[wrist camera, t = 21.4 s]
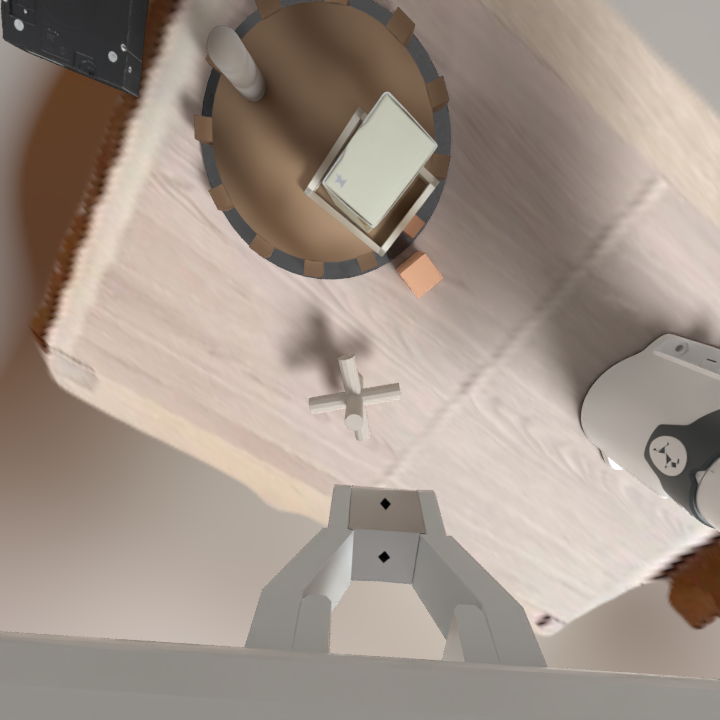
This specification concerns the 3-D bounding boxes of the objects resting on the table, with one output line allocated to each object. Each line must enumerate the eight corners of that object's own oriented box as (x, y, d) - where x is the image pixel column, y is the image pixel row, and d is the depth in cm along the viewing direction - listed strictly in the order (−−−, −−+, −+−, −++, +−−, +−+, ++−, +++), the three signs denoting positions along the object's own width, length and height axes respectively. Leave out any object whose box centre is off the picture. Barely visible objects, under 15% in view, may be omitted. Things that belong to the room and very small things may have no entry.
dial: (292, -85, 26) (264, -213, 19) (497, 127, 31) (540, 93, 24) (163, 176, 33) (103, 159, 25) (348, 317, 38) (345, 338, 30)
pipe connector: (307, 349, 40) (290, 385, 31) (389, 334, 39) (397, 366, 30) (326, 420, 44) (316, 471, 34) (401, 408, 43) (412, 456, 33)
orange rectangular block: (395, 269, 37) (399, 274, 32) (417, 250, 36) (425, 253, 31) (411, 290, 37) (418, 298, 33) (433, 272, 37) (443, 278, 32)
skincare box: (368, 234, 33) (371, 235, 21) (333, 203, 32) (316, 186, 20) (412, 177, 31) (442, 144, 19) (377, 142, 30) (386, 86, 18)
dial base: (472, 9, 29) (474, 5, 28) (427, 288, 37) (428, 289, 37) (193, -23, 28) (190, -28, 28) (212, 268, 37) (210, 268, 36)
